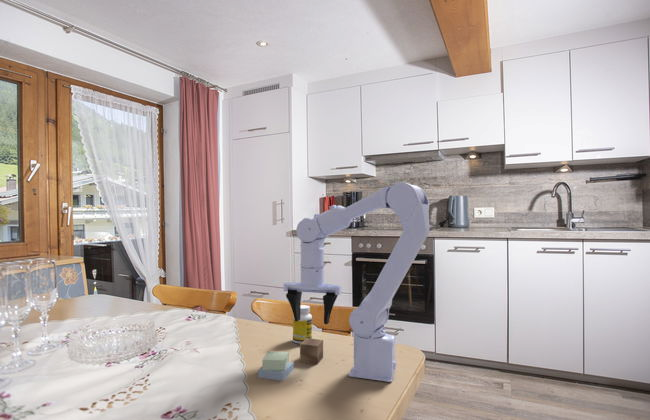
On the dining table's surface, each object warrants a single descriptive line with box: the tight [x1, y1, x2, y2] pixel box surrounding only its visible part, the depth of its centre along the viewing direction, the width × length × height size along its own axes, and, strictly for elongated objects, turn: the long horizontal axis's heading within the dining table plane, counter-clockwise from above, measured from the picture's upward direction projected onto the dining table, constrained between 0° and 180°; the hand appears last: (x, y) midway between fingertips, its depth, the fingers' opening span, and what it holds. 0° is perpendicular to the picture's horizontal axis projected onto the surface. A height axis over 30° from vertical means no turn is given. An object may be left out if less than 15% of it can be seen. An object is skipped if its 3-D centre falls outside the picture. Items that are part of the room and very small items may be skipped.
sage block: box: [261, 351, 290, 371], centre depth 84 cm, size 5×5×2 cm
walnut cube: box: [299, 338, 324, 365], centre depth 92 cm, size 4×4×4 cm
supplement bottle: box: [292, 304, 313, 345], centre depth 105 cm, size 5×5×10 cm
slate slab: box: [257, 361, 295, 382], centre depth 84 cm, size 6×6×2 cm
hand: (311, 321), depth 92 cm, fingers open, 7 cm apart
